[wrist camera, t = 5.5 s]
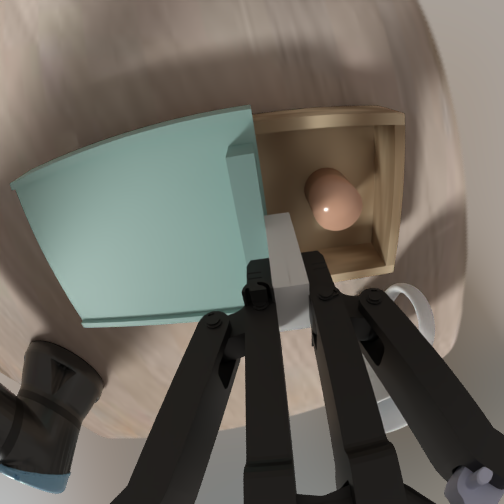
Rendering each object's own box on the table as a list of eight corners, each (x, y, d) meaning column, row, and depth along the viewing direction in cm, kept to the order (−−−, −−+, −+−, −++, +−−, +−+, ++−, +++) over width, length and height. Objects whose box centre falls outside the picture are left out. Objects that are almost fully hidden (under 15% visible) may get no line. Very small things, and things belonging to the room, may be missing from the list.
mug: (344, 248, 27) (394, 362, 16) (431, 257, 27) (493, 346, 16) (308, 348, 35) (324, 444, 24) (383, 346, 36) (411, 428, 25)
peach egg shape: (305, 211, 23) (314, 233, 20) (302, 170, 22) (311, 186, 19) (347, 206, 23) (361, 227, 20) (346, 165, 21) (363, 181, 18)
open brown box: (189, 269, 27) (181, 301, 24) (149, 135, 20) (128, 149, 17) (375, 243, 26) (393, 272, 23) (377, 105, 19) (404, 113, 15)
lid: (95, 305, 26) (76, 344, 22) (32, 169, 18) (-8, 196, 14) (276, 286, 25) (282, 333, 21) (250, 104, 17) (251, 112, 12)
